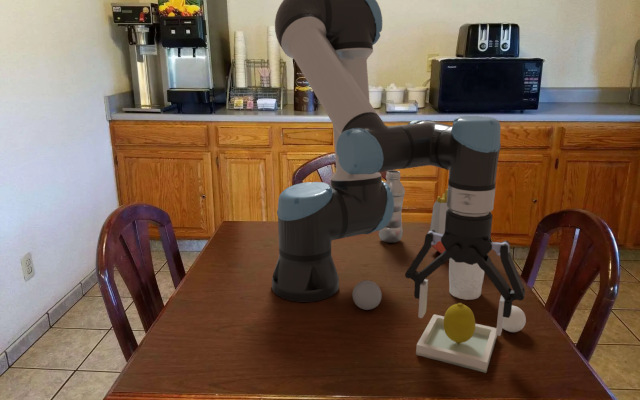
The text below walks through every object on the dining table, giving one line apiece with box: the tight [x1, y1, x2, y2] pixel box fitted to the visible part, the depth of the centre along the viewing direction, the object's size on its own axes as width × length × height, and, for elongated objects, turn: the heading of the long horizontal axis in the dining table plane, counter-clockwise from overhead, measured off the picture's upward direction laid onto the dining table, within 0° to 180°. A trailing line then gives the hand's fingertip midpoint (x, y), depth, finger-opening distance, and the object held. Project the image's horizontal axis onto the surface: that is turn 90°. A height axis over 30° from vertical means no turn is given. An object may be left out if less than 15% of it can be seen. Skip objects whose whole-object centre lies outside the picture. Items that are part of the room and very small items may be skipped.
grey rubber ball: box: [351, 279, 383, 311], centre depth 106 cm, size 6×6×6 cm
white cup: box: [448, 258, 486, 301], centre depth 112 cm, size 8×8×10 cm
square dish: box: [415, 314, 498, 374], centre depth 93 cm, size 12×12×2 cm
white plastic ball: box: [502, 304, 527, 333], centre depth 97 cm, size 5×5×5 cm
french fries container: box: [429, 188, 449, 255], centre depth 133 cm, size 5×11×18 cm, turn 107°
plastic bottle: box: [378, 169, 406, 243], centre depth 141 cm, size 6×7×20 cm
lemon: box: [443, 302, 476, 344], centre depth 92 cm, size 6×6×8 cm
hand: (459, 323), depth 92 cm, fingers open, 13 cm apart
